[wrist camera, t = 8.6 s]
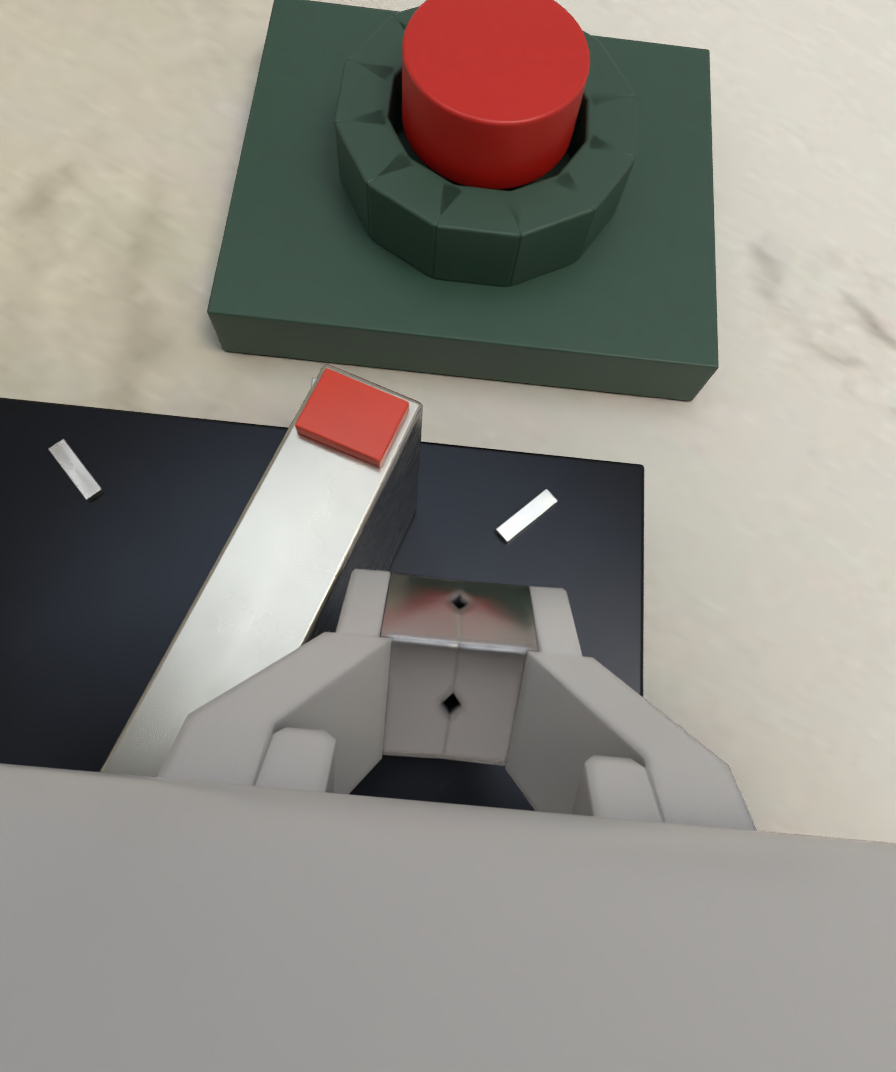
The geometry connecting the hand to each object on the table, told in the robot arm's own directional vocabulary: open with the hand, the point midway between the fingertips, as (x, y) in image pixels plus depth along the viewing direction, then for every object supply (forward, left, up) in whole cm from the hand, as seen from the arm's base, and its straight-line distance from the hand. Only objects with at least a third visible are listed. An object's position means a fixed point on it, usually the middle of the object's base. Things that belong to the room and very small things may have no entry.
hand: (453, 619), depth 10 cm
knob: (-3, -2, -4) cm, 5 cm away
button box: (0, +12, -6) cm, 14 cm away
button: (0, +12, -3) cm, 13 cm away
